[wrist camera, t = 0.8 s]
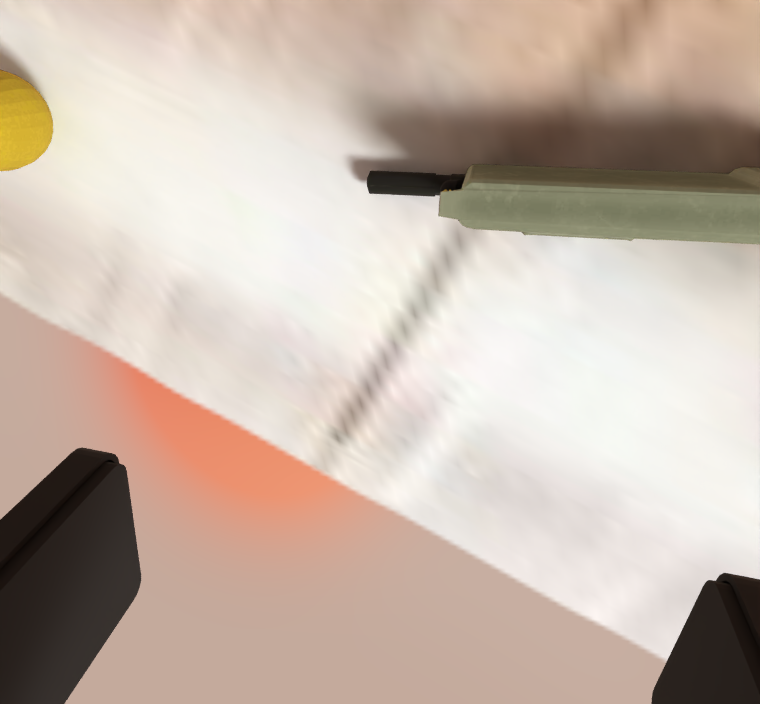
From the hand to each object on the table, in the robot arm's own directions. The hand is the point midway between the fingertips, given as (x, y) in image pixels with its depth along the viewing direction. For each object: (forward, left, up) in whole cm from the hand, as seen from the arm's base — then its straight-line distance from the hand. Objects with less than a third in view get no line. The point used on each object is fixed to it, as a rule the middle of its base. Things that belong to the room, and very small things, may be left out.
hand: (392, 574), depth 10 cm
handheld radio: (-6, +3, -30) cm, 30 cm away
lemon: (+20, -19, -29) cm, 40 cm away
